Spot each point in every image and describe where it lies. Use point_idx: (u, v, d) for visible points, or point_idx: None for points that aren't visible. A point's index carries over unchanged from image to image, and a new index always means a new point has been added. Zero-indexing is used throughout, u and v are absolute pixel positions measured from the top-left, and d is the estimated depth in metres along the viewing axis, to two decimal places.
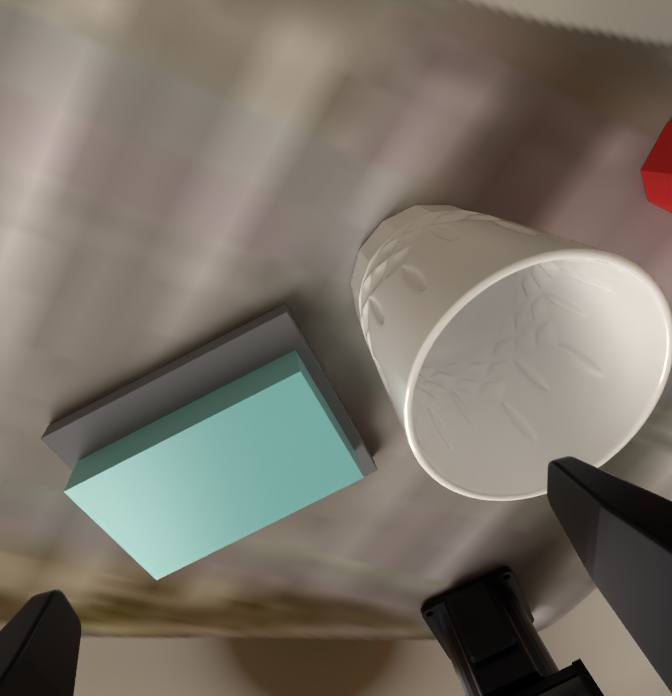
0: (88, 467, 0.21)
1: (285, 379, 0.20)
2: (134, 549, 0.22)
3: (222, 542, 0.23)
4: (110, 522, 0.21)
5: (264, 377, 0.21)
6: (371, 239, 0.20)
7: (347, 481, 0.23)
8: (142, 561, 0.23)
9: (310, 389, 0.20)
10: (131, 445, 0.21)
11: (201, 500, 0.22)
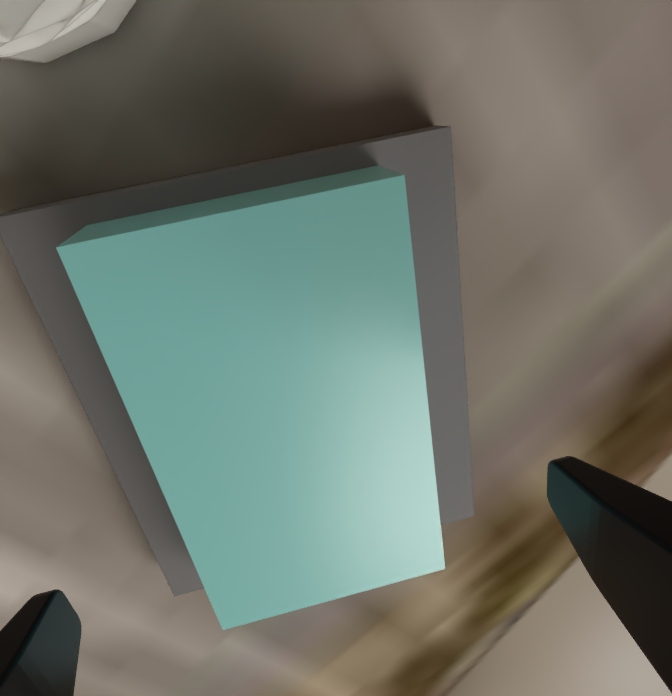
0: None
1: (72, 283, 0.09)
2: (369, 580, 0.14)
3: (425, 473, 0.13)
4: (303, 596, 0.14)
5: None
6: None
7: (397, 217, 0.10)
8: (398, 577, 0.14)
9: (112, 237, 0.09)
10: None
11: (317, 482, 0.12)
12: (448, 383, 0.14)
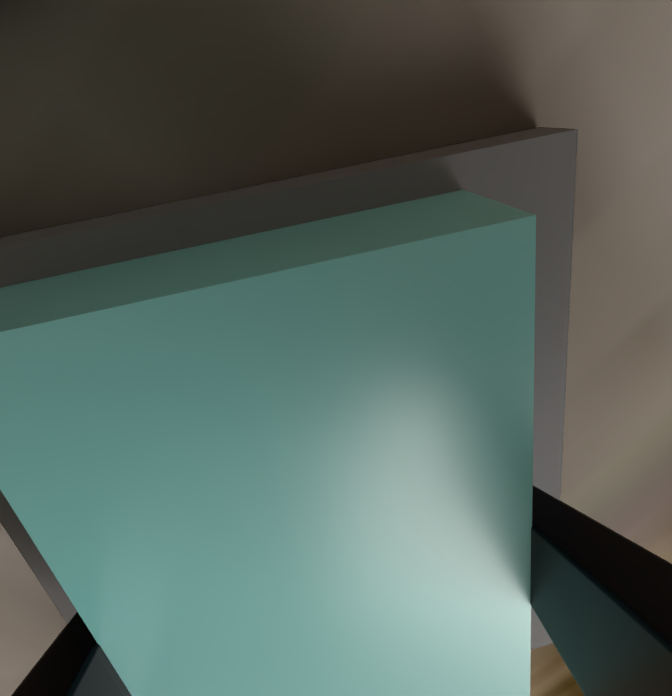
0: None
1: None
2: None
3: (515, 636, 0.09)
4: None
5: None
6: None
7: (515, 285, 0.06)
8: None
9: (17, 331, 0.05)
10: None
11: (361, 659, 0.08)
12: None
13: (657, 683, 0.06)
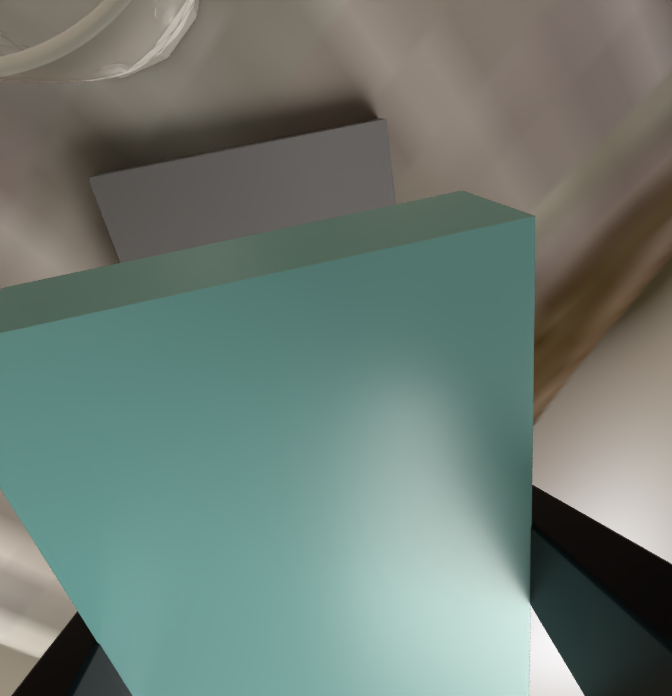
0: None
1: None
2: None
3: (515, 636, 0.09)
4: None
5: None
6: None
7: (515, 285, 0.06)
8: None
9: (18, 331, 0.05)
10: None
11: (361, 659, 0.08)
12: None
13: (657, 683, 0.06)
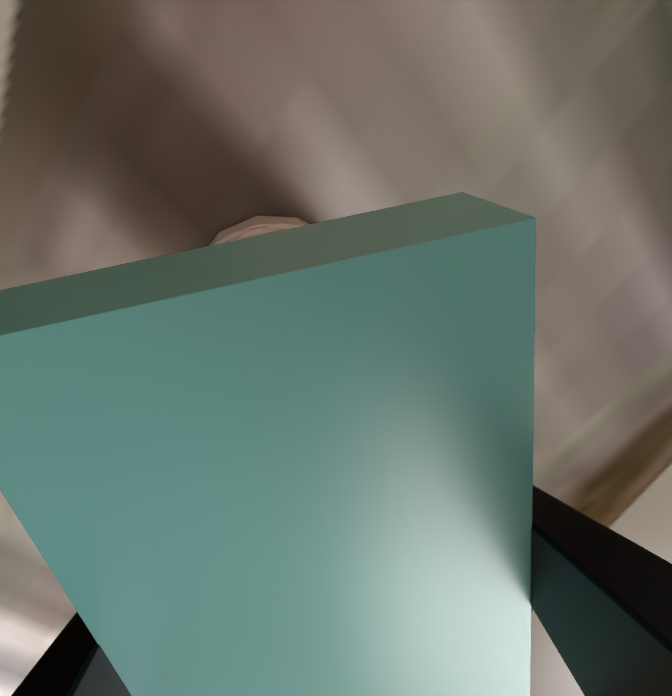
0: None
1: None
2: None
3: (516, 638, 0.09)
4: None
5: None
6: None
7: (515, 287, 0.06)
8: None
9: (18, 334, 0.05)
10: None
11: (361, 661, 0.08)
12: None
13: (657, 683, 0.06)
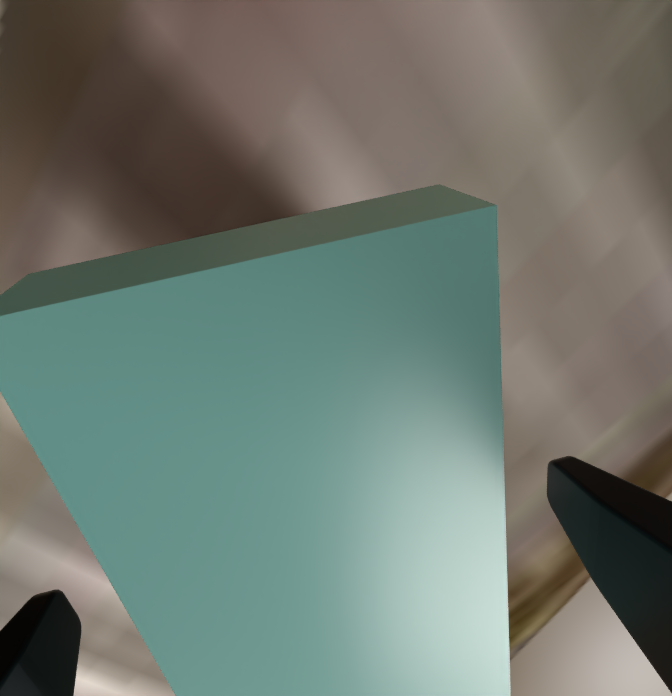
0: None
1: None
2: None
3: (494, 591, 0.09)
4: None
5: None
6: None
7: (481, 266, 0.06)
8: None
9: (49, 307, 0.06)
10: None
11: (353, 611, 0.09)
12: None
13: None
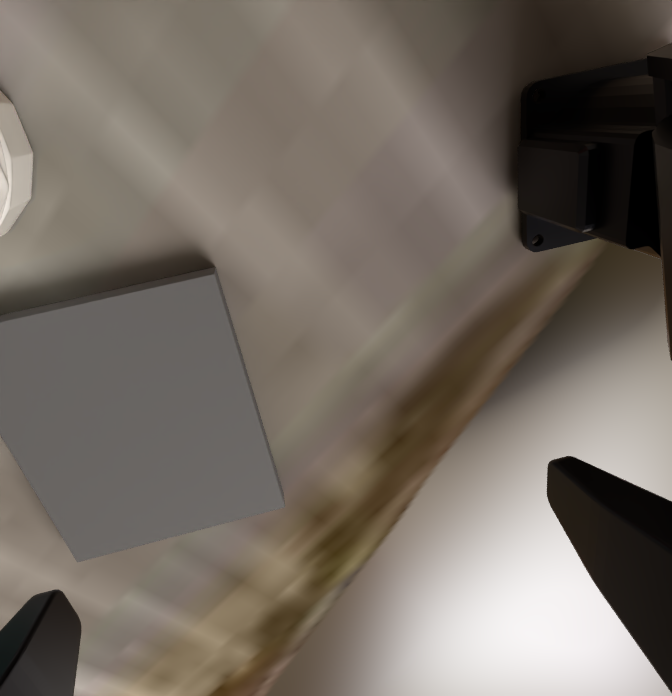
0: None
1: None
2: None
3: None
4: None
5: None
6: None
7: None
8: None
9: None
10: None
11: None
12: (246, 420, 0.22)
13: None
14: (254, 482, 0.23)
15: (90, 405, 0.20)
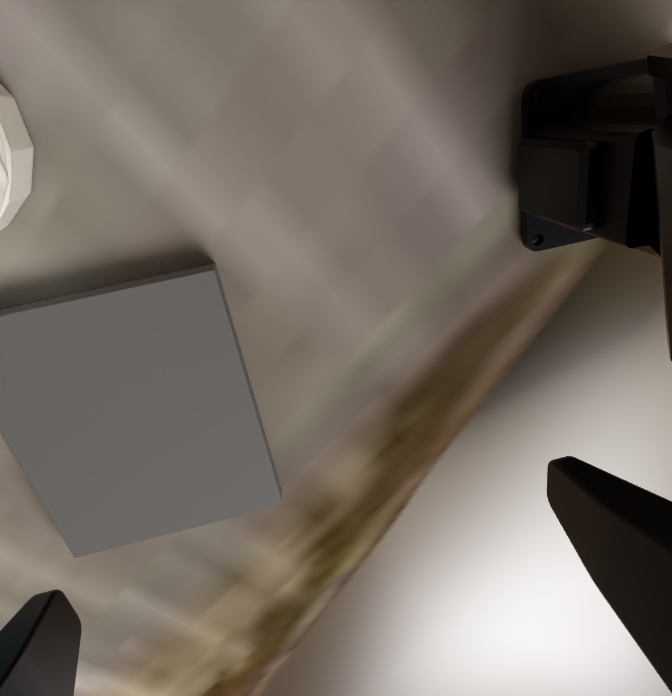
0: None
1: None
2: None
3: None
4: None
5: None
6: None
7: None
8: None
9: None
10: None
11: None
12: (244, 417, 0.22)
13: None
14: (252, 479, 0.23)
15: (88, 400, 0.20)
